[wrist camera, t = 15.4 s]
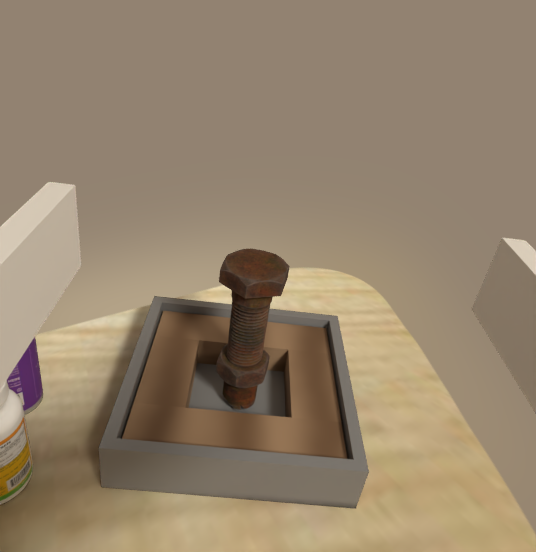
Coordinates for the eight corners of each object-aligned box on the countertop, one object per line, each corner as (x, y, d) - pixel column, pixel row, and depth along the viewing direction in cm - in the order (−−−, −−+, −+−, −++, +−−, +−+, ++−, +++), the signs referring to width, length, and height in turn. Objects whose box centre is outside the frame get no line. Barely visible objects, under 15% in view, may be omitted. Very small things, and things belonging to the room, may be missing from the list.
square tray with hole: (120, 470, 39) (120, 444, 37) (162, 332, 54) (163, 310, 52) (340, 489, 40) (348, 464, 38) (321, 349, 55) (326, 328, 53)
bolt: (259, 377, 50) (280, 247, 42) (275, 414, 46) (301, 278, 38) (203, 384, 48) (213, 249, 40) (214, 424, 44) (228, 283, 36)
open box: (101, 487, 38) (98, 447, 36) (153, 329, 55) (154, 296, 53) (355, 508, 39) (368, 471, 37) (329, 347, 56) (337, 316, 54)
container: (54, 393, 45) (36, 251, 38) (11, 427, 41) (-19, 276, 34) (18, 374, 47) (-7, 233, 39) (-28, 404, 43) (-65, 255, 35)
